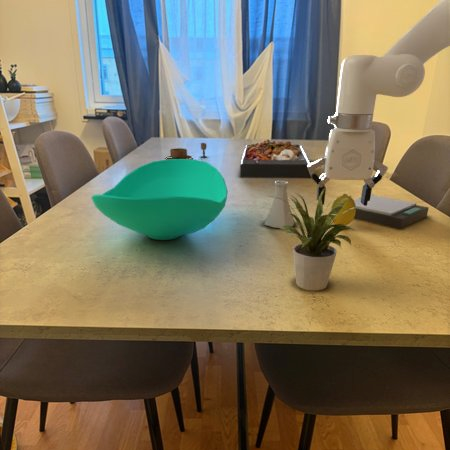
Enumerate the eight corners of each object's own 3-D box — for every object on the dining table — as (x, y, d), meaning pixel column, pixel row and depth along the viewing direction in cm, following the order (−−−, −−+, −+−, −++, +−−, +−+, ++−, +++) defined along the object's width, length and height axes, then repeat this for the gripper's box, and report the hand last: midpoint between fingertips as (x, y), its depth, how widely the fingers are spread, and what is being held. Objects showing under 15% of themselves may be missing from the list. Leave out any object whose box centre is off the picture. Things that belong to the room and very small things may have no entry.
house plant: (258, 300, 68) (262, 198, 61) (265, 266, 81) (268, 178, 73) (351, 306, 66) (366, 201, 59) (343, 271, 79) (355, 180, 71)
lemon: (328, 230, 99) (332, 196, 95) (329, 223, 104) (332, 190, 100) (353, 232, 98) (358, 197, 94) (353, 225, 103) (357, 191, 99)
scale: (426, 216, 108) (429, 205, 107) (400, 229, 100) (402, 216, 98) (369, 204, 119) (370, 193, 117) (340, 215, 110) (342, 203, 109)
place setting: (161, 159, 187) (160, 144, 184) (205, 156, 192) (205, 142, 190) (169, 165, 172) (168, 150, 170) (216, 162, 178) (216, 147, 175)
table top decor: (213, 272, 78) (212, 200, 72) (69, 265, 82) (56, 195, 76) (236, 212, 113) (236, 159, 107) (134, 208, 117) (129, 158, 111)
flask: (299, 222, 105) (302, 180, 100) (287, 230, 99) (290, 187, 95) (272, 218, 108) (273, 177, 103) (259, 226, 103) (260, 183, 98)
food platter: (310, 177, 150) (313, 146, 146) (240, 177, 152) (240, 146, 148) (301, 156, 190) (302, 131, 185) (245, 156, 192) (245, 131, 187)
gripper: (314, 124, 87) (306, 207, 95) (400, 125, 87) (385, 208, 95) (309, 120, 94) (302, 199, 102) (389, 121, 93) (375, 200, 101)
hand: (342, 203), depth 98 cm, fingers open, 9 cm apart
